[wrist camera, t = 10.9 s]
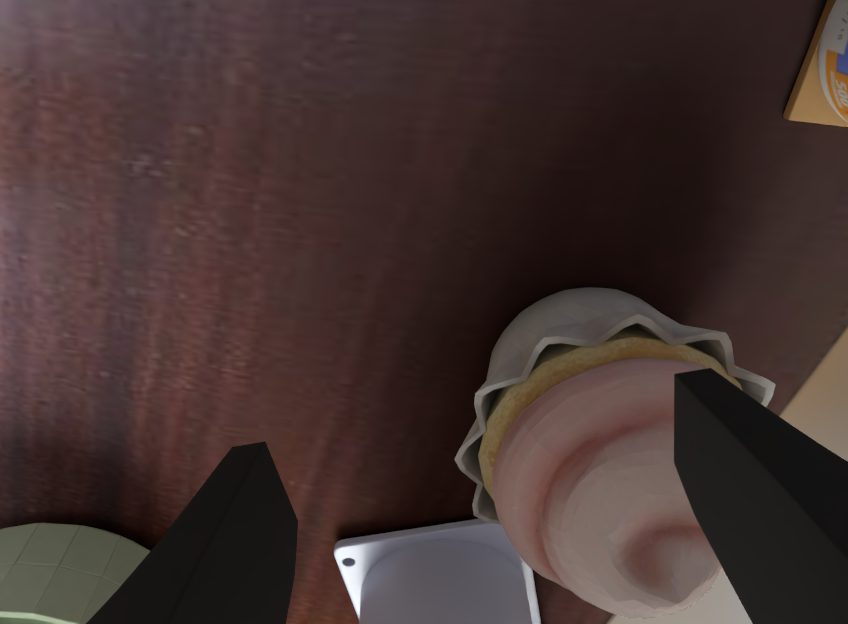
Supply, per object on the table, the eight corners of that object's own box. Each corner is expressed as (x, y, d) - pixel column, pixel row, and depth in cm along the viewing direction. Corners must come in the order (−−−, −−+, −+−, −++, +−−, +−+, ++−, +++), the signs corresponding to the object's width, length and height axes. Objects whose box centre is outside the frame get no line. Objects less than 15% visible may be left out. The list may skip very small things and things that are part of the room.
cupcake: (737, 233, 21) (967, 448, 12) (684, 454, 26) (824, 720, 17) (445, 241, 21) (473, 462, 12) (445, 461, 26) (466, 732, 17)
